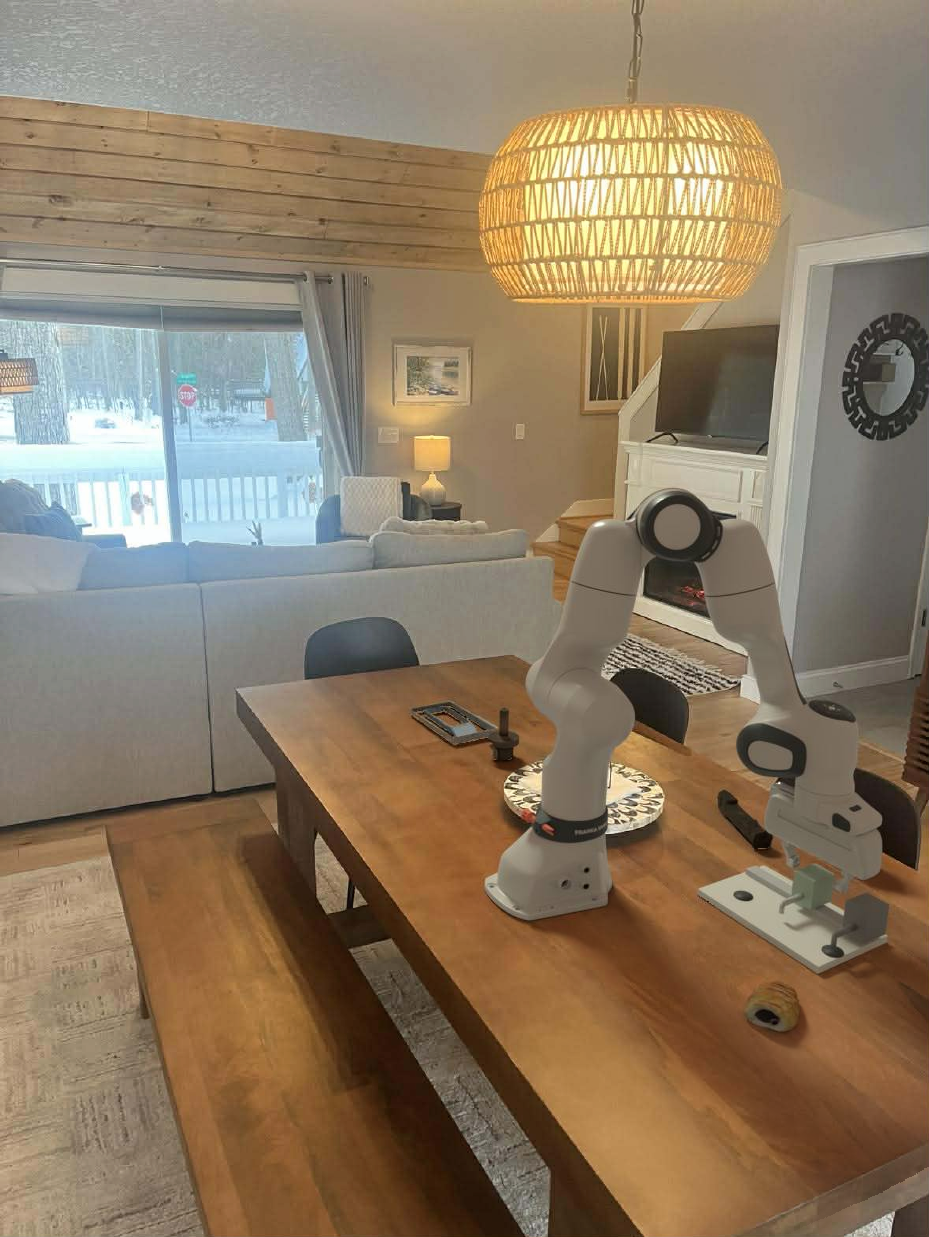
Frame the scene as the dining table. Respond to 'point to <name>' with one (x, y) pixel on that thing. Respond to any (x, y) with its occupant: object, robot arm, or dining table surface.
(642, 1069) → the dining table surface
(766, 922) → the white peg board
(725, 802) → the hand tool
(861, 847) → the robot arm
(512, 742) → the industrial component
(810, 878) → the sliding leg
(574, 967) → the dining table surface
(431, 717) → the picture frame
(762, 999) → the pastry
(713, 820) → the dining table surface
